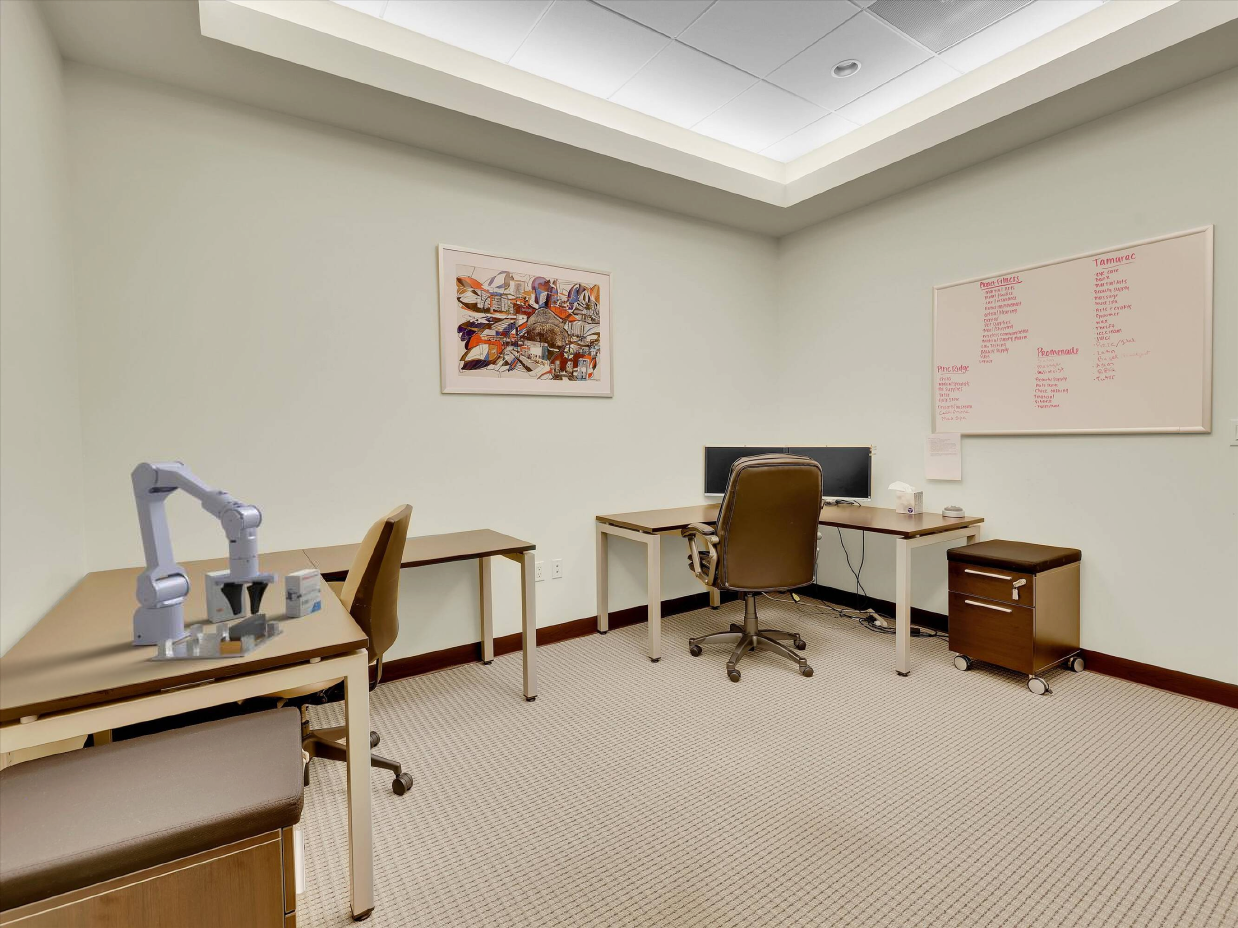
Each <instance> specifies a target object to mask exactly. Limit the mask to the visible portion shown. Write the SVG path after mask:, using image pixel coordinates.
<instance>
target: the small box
mask: <svg viewBox="0 0 1238 928" xmlns="http://www.w3.org/2000/svg"><path fill="white" fill-rule="evenodd" d="M222 575H230V569H224V570H217V571H211V572H205V573H204V582H205V583H204V584H205V598H206V599H205V600H206V601H205V602H206V615H207V620H208V619H209V620H208V621H210V622H211V621H212V622H211V623H213V624H215V623H222V622H225V621H230V620H235V619H239V618H246V617H247V612H248V611H247V596H246V595H247V593H246V584H243V588H242V596H241V603H242V611H241V613H240V614H238V615H233V612H232V609H231V606H230V604H229V602H228V600H227V598H226V597H225V596H224V594H223V593H222V592H221V588H222V587H223V586H224V585H215V586H211V580H210V578H211V577H214V576H222ZM221 621H222V622H221Z"/></svg>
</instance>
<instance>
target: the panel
mask: <svg viewBox="0 0 1238 928" xmlns="http://www.w3.org/2000/svg"><path fill="white" fill-rule="evenodd" d="M266 615H267V614H266V613H256V614H254V615H251V616H248V617H247V618H246V617H245V618H244V619H243V620H241V621H239V622H237V623H235V624H233V625H231V626H228V632H229V641H241V638H242V637H244V636H246V635H254V641H255V640H256V639H258V638H260V637H261V636H263V635H265V634H266V633H267V632H266V631H267V616H266Z"/></svg>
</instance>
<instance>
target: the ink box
mask: <svg viewBox="0 0 1238 928" xmlns="http://www.w3.org/2000/svg"><path fill="white" fill-rule="evenodd" d="M284 580H285V581H284V583H285V584H284V586H285V587H284V588H285V590H284V591H285V616H286V617H288V618H289V617H290V618H302V617H304V616H308V615H310V614H312V613H314V612H318V611H319V609H320V610H321V609H322V597H321V569H317V568H313V569H312V568H311V569H310V568H309V569H308V568H306V569H302V570H299V571H296V572H292V573H289V574H286V575H285V576H284ZM309 613H310V614H309Z"/></svg>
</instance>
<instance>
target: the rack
mask: <svg viewBox="0 0 1238 928" xmlns="http://www.w3.org/2000/svg"><path fill="white" fill-rule="evenodd" d="M203 626H204V625H203V623H195V624H193V625H190V626H189V632H190V635H189V638H188V639H187V640H186V641H183V642H181V643H179V644H178V645H175V646H173V643H172V638H171V639H162V640H160V641H158V642H157V644H156V645H157V655H155V656H153V657H151V661H152V662H153V661H155V662H156V661H175V660H197V659H218V658H219V659H220V658H221V659H222V658H240V656H245V657H246V656H248V655H249V654H251V653H253V652H254V651H255V650H257V649H260V648H261V647H262V646H264V645H265V644H267V643H269V642H270V641H272V640H273V639H275V638H277V637H278V636H281V634H283V633H284V630H282V629H281V630H280V628H279V627H280V626H279V620H272V621H268V622H266V632H267V633H266V634H265V635H263V636H261V637H260V638H258V639H256V640H255V641H254V635H246V636H244V637H242V638H241V641H229V625H228V622H220V623H219V624H217V625H215V627H216V632H207V633H205V632H204V630H203V629H204V627H203Z"/></svg>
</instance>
